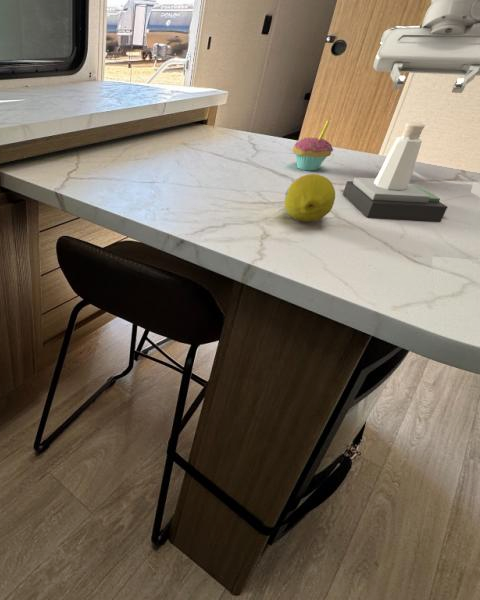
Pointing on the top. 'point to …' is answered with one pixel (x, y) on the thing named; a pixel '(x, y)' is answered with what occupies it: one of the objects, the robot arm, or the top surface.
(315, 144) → the cupcake
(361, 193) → the scale
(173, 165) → the top surface
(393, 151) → the salt shaker
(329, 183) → the lemon
